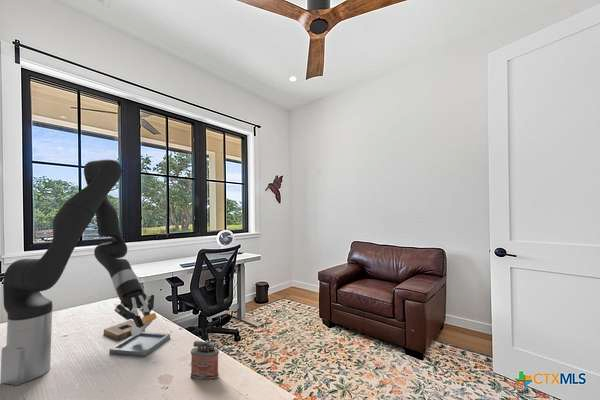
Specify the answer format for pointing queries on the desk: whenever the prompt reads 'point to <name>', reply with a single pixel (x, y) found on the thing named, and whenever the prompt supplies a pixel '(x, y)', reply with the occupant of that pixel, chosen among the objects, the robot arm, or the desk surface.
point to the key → (146, 322)
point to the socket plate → (120, 330)
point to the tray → (140, 344)
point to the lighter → (204, 361)
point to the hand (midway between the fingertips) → (145, 324)
